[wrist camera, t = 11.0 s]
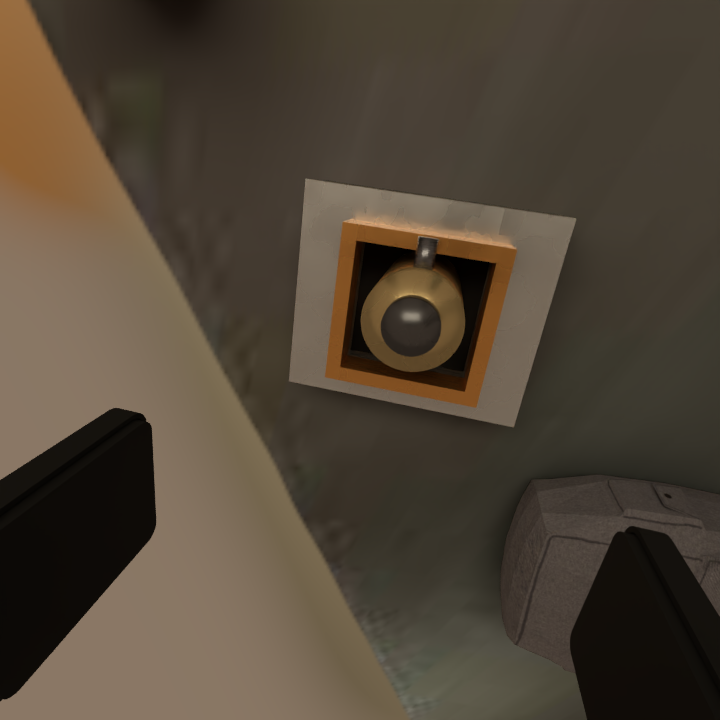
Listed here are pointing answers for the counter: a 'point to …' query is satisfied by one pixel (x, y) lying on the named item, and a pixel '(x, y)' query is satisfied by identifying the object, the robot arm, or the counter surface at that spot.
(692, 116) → the counter surface
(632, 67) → the counter surface
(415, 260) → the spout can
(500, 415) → the orange white open box
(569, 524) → the grey rounded bag
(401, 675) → the counter surface
